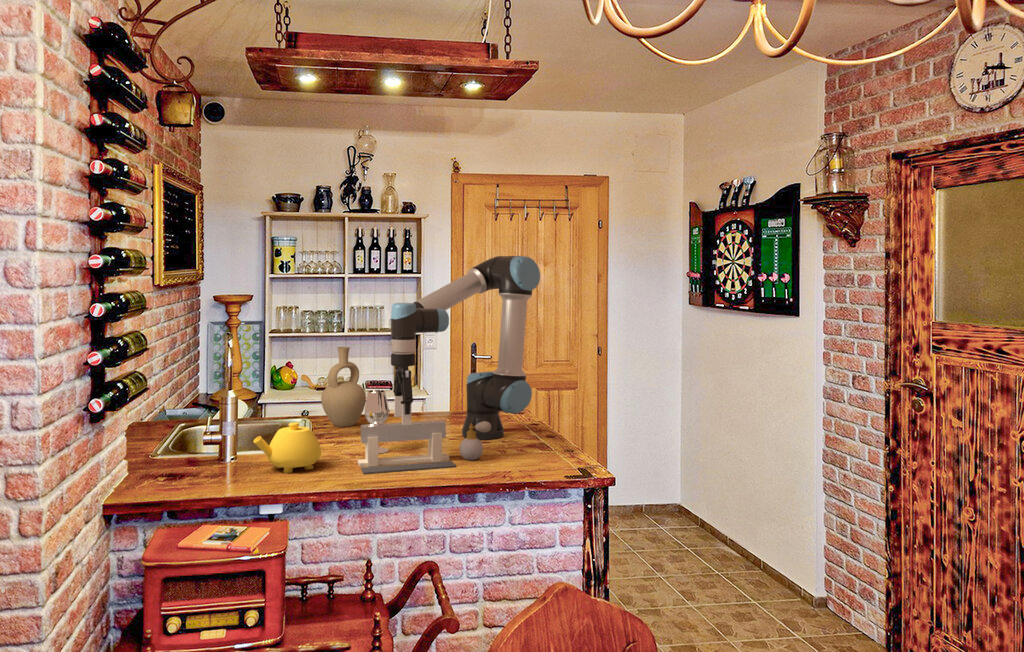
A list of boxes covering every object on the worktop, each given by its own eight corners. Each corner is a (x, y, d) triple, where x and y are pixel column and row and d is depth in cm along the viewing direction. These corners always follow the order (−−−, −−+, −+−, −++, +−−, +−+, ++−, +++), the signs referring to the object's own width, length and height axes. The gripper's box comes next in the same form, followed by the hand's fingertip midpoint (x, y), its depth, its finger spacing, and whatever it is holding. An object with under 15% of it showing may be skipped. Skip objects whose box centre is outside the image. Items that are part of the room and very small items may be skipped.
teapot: (262, 479, 224) (261, 432, 223) (246, 468, 237) (245, 423, 236) (329, 469, 236) (328, 424, 235) (309, 459, 248) (309, 416, 247)
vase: (345, 419, 311) (344, 344, 309) (375, 424, 302) (374, 347, 299) (312, 426, 298) (311, 347, 296) (342, 432, 288) (341, 350, 286)
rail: (443, 435, 251) (443, 420, 250) (445, 438, 247) (445, 422, 247) (360, 440, 243) (360, 424, 242) (362, 443, 239) (362, 427, 239)
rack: (445, 456, 253) (445, 428, 252) (449, 460, 247) (449, 432, 246) (357, 462, 244) (357, 433, 244) (359, 467, 238) (359, 438, 238)
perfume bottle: (454, 458, 250) (454, 421, 249) (480, 454, 256) (480, 417, 255) (468, 463, 244) (468, 425, 243) (493, 458, 250) (493, 421, 249)
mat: (451, 462, 245) (451, 460, 245) (456, 467, 239) (456, 465, 239) (360, 469, 236) (360, 467, 236) (363, 474, 230) (363, 472, 230)
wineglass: (384, 454, 254) (383, 393, 253) (361, 453, 256) (360, 392, 254) (392, 449, 262) (392, 389, 260) (370, 447, 264) (369, 388, 262)
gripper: (384, 349, 254) (384, 414, 255) (398, 357, 230) (397, 428, 231) (407, 348, 256) (407, 413, 257) (423, 356, 232) (422, 427, 234)
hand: (402, 420), depth 244 cm, fingers open, 13 cm apart
